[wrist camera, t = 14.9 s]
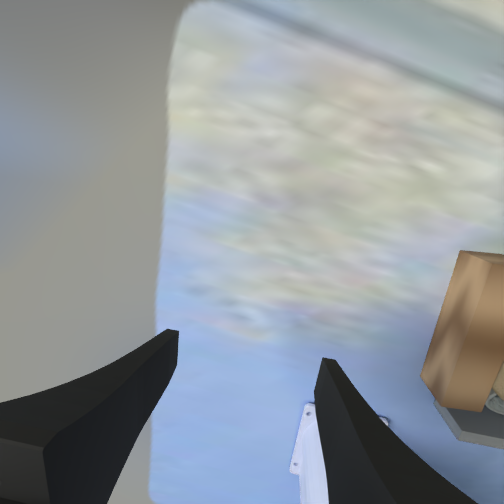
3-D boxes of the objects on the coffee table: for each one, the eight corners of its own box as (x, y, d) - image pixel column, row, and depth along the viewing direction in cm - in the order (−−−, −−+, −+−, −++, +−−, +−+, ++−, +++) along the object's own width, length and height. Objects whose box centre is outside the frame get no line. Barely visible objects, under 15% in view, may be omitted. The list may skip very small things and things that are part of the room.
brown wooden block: (453, 378, 24) (481, 412, 20) (418, 374, 24) (440, 406, 20) (498, 253, 20) (542, 268, 17) (458, 249, 20) (492, 263, 17)
